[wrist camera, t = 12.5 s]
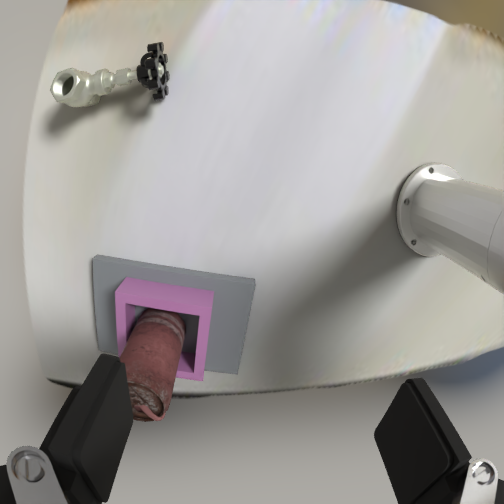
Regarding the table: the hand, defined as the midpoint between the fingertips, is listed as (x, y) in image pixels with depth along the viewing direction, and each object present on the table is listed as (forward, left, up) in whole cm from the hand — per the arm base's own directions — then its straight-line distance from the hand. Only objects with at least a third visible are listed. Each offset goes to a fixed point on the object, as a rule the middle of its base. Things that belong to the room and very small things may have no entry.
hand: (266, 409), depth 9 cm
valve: (+17, -14, -27) cm, 35 cm away
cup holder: (+7, +14, -27) cm, 31 cm away
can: (+8, +15, -26) cm, 31 cm away
